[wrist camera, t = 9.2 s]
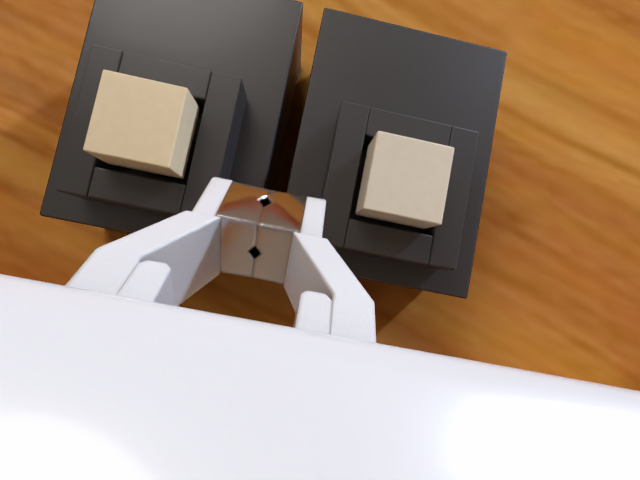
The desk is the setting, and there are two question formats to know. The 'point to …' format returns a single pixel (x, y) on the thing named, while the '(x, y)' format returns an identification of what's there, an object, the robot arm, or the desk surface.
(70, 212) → the high key box
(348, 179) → the low key box
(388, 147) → the low key
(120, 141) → the high key
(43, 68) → the desk surface
